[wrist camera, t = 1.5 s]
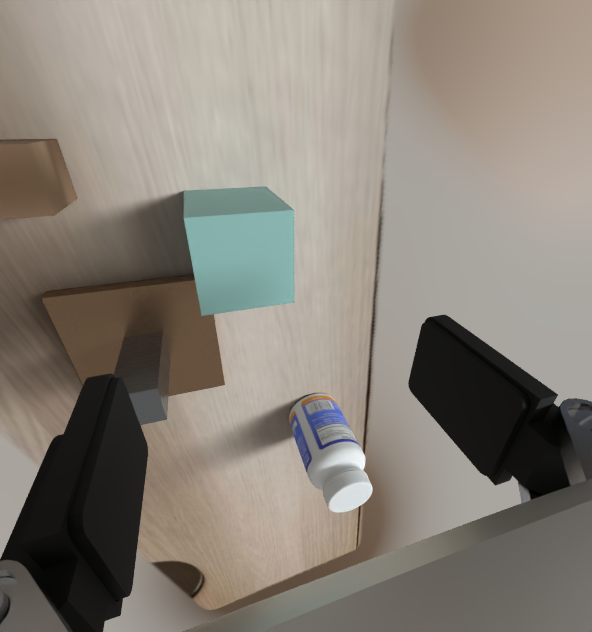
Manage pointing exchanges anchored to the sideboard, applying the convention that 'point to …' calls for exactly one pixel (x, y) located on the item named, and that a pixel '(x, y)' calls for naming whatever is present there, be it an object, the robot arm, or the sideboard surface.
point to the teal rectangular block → (240, 248)
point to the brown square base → (140, 338)
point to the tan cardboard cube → (33, 179)
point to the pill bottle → (330, 452)
